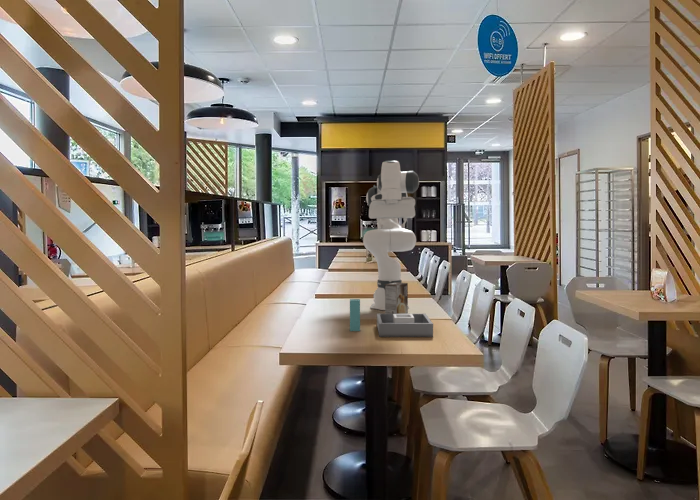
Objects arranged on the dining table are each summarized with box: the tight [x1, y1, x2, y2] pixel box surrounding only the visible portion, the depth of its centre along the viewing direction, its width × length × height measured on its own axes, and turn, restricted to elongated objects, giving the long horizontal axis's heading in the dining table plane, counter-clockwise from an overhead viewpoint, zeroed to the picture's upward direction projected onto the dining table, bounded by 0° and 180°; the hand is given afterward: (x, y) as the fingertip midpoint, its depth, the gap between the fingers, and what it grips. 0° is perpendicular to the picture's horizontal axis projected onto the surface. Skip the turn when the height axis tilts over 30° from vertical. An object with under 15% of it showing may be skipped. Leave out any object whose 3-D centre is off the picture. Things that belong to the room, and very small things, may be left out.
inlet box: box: [376, 313, 434, 338], centre depth 192 cm, size 20×20×6 cm
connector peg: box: [349, 298, 361, 332], centre depth 195 cm, size 4×4×12 cm
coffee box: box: [384, 282, 409, 314], centre depth 213 cm, size 9×6×16 cm
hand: (392, 228), depth 214 cm, fingers open, 8 cm apart
